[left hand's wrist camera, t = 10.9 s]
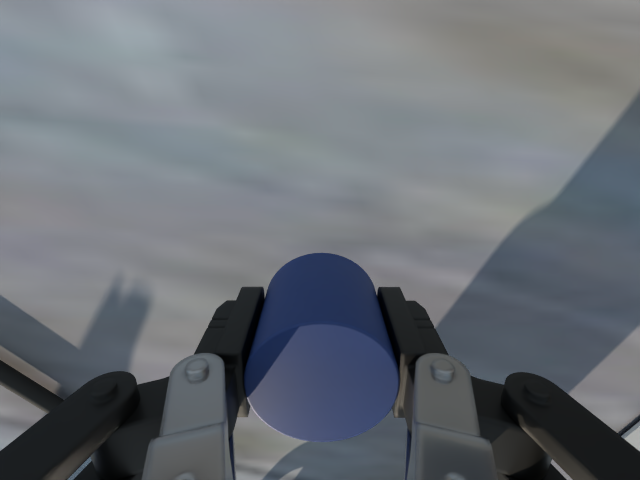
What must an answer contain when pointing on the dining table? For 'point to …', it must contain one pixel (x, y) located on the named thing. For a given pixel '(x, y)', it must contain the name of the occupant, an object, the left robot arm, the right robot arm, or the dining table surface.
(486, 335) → the dining table surface
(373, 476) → the dining table surface
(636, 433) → the invitation card
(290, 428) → the can
